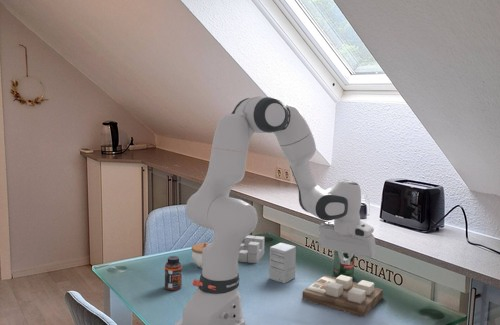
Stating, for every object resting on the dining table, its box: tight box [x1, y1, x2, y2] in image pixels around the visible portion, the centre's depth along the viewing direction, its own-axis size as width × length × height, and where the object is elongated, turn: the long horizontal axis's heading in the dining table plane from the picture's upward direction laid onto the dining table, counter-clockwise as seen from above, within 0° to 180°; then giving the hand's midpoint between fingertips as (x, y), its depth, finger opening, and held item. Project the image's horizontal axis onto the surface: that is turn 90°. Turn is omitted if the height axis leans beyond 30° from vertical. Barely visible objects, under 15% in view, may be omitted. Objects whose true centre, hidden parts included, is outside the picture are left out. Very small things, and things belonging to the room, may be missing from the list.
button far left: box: [336, 275, 353, 290], centre depth 172 cm, size 4×4×3 cm
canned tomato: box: [332, 250, 356, 280], centre depth 188 cm, size 8×8×11 cm
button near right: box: [348, 287, 366, 304], centre depth 162 cm, size 4×4×3 cm
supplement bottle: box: [164, 255, 183, 291], centre depth 174 cm, size 6×6×11 cm
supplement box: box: [268, 242, 297, 284], centre depth 185 cm, size 7×7×13 cm
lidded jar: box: [191, 242, 210, 269], centre depth 197 cm, size 11×11×9 cm
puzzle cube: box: [238, 234, 266, 264], centre depth 208 cm, size 12×12×8 cm
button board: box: [301, 274, 384, 318], centre depth 169 cm, size 18×22×3 cm
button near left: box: [326, 282, 343, 297], centre depth 166 cm, size 4×4×3 cm
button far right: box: [357, 279, 375, 295], centre depth 168 cm, size 4×4×3 cm
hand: (345, 263), depth 172 cm, fingers closed
